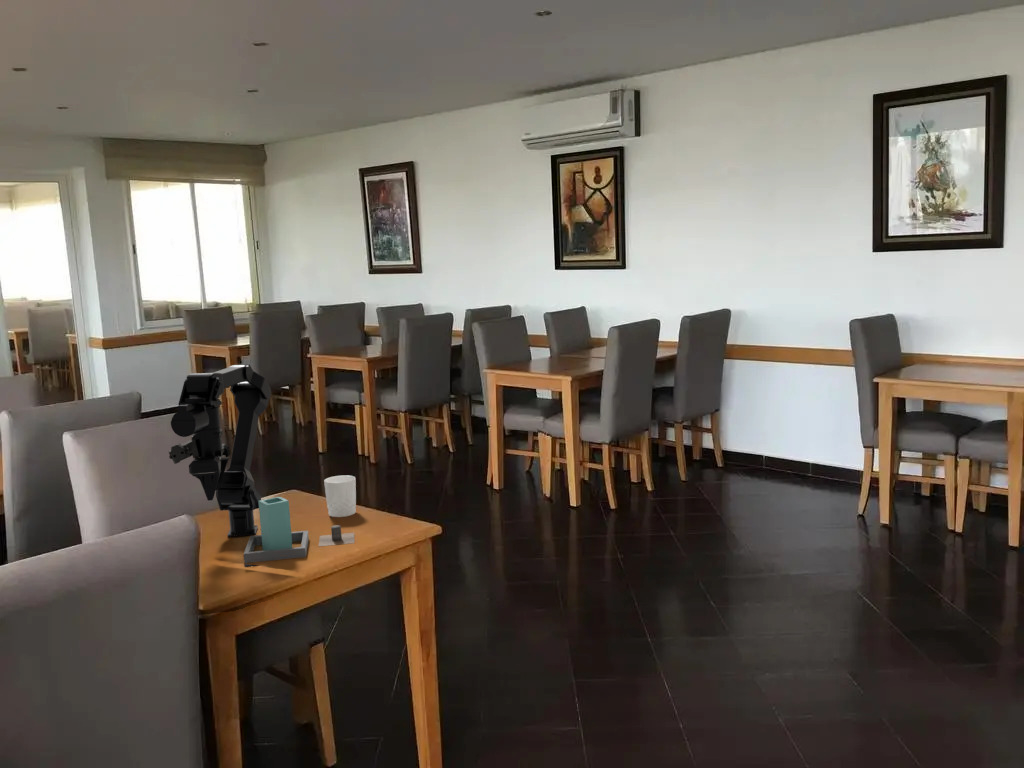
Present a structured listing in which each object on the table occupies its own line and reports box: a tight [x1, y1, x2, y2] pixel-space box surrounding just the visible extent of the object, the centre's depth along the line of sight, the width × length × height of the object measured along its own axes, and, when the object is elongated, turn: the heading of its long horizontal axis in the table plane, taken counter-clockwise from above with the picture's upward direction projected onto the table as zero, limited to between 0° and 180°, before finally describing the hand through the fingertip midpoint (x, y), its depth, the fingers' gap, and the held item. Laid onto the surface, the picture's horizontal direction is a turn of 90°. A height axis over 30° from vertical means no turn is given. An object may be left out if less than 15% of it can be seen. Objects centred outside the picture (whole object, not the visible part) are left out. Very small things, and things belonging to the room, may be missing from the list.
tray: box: [243, 530, 310, 568], centre depth 194 cm, size 13×13×3 cm
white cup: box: [323, 474, 357, 518], centre depth 221 cm, size 8×8×10 cm
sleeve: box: [258, 496, 293, 551], centre depth 193 cm, size 5×5×12 cm
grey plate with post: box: [318, 524, 355, 547], centre depth 200 cm, size 8×8×4 cm
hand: (213, 495), depth 198 cm, fingers open, 9 cm apart
